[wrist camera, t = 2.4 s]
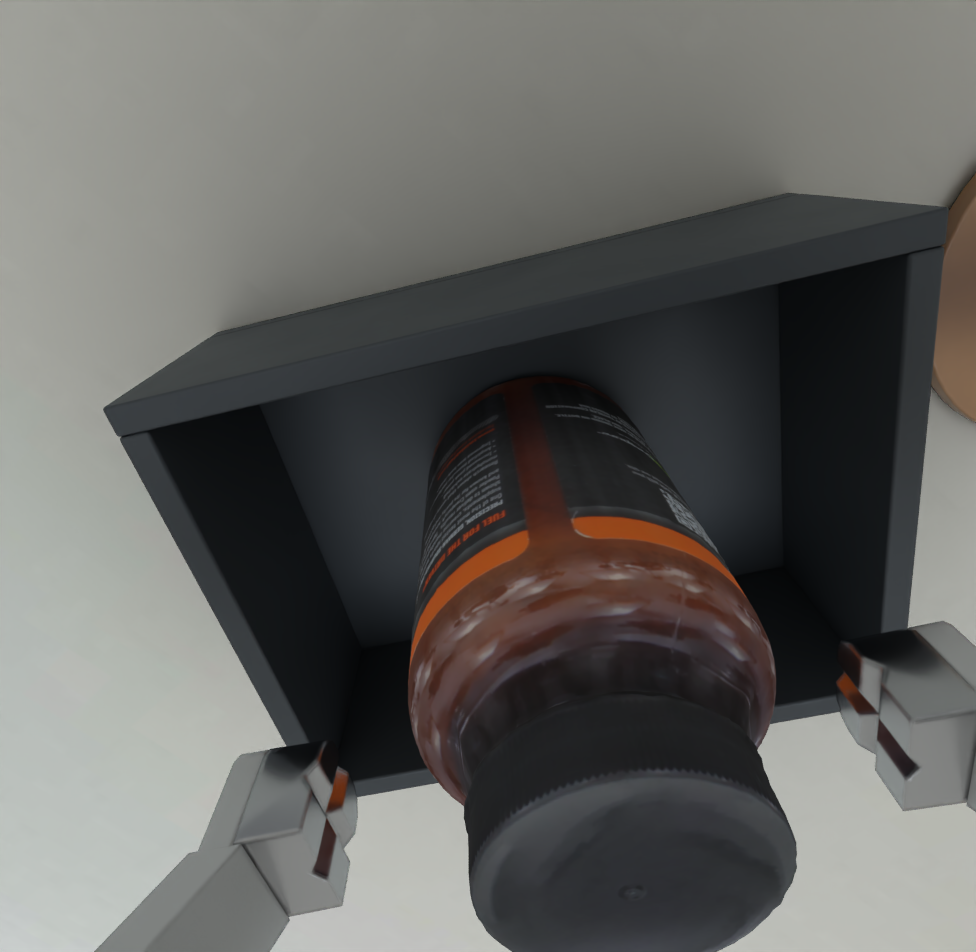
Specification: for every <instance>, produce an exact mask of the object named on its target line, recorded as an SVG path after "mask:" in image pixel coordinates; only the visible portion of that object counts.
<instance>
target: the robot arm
mask: <svg viewBox="0 0 976 952" xmlns="http://www.w3.org/2000/svg"><path fill="white" fill-rule="evenodd" d="M836 661H837V662H838V663H839V665H840V666H841V667H842V669H843V670H844V673H843V674H842V675H841V676H840V678H839V679H838V680H837V681H836V699H837V703H838V706H839V710H840V713H841V716H842V718H843V720H844V722H845V725H846V727H847V729H848V730H849V732H850V734H851V735H852V737H853V738H854V740H855V741H856V743H857V744H858V745H860V746H861V747H863V748H865V749H867V750H868V751H870V752H872V753H874V754H876V765H875V771H876V772H877V774H878V775H879V777H880V778H881V779H882V781H883V782H884V784H885V785H886V787H887V788H888V790H889V791H890V793H891V794H892V795H893V797H894V798H895V800H896V801H897V803H898V804H899V806H900V807H901V809H902V810H903V811H909V810H916V809H923V808H930V807H937V806H945V805H952V804H959V803H966V802H967V806H968V807H969V808H971V809H972V810H974V811H975V812H976V646H974V645H973V644H972V643H971V642H970V641H969V640H968V639H967V638H966V637H965V636H964V635H963V634H961V633H960V632H959V631H958V630H957V629H956V628H955V627H954V626H953V625H951V624H949V623H947V622H944V621H940V622H935V623H930V624H925V625H920V626H915V627H910V628H908V629H899V630H894V631H889V632H884V633H879V634H874V635H869V636H864V637H860V638H855V639H850V640H845V641H841V642H840V643H839V645H838V647H837V659H836ZM339 757H340V753H339V751H338V749H337V747H336V746H335V744H334V742H333V740H323V741H317V742H311V743H305V744H298V745H292V746H286V747H280V748H274V749H270V750H265V751H259V752H253V753H247V754H241V755H240V756H239V757H238V759H237V760H236V761H235V762H234V763H233V765H232V768H231V770H230V773H229V775H228V778H227V780H226V783H225V785H224V788H223V790H222V793H221V795H220V798H219V800H218V803H217V805H216V807H215V810H214V812H213V815H212V817H211V820H210V822H209V825H208V827H207V830H206V832H205V835H204V837H203V840H202V842H201V845H200V847H199V850H198V851H197V852H192V853H189V854H188V855H187V856H186V857H185V858H184V859H183V860H182V861H181V862H180V863H179V864H178V865H177V866H176V867H175V868H174V869H173V870H172V871H171V872H170V873H169V874H168V875H167V876H166V877H165V879H164V880H163V881H162V882H161V883H160V884H159V885H158V886H157V887H156V888H155V889H154V890H153V891H152V892H151V893H150V894H149V895H148V896H147V897H146V898H145V899H144V900H143V901H142V902H141V904H140V905H139V906H138V907H137V908H136V909H135V910H134V911H133V912H132V913H131V914H130V915H129V916H128V917H127V918H126V919H125V920H124V921H123V922H122V923H121V924H120V925H119V926H118V927H117V929H116V930H115V931H114V932H113V933H112V934H111V935H110V936H109V937H108V938H107V939H106V940H105V941H104V942H103V943H102V944H101V945H100V946H99V947H98V948H97V949H96V950H95V951H94V952H270V950H271V949H272V947H273V946H274V944H275V943H276V941H277V939H278V938H279V936H280V935H281V933H282V932H283V930H284V928H285V927H286V925H287V924H288V922H289V921H290V920H289V917H290V916H295V915H300V914H305V913H310V912H315V911H320V910H325V909H330V908H335V907H340V906H342V905H343V899H344V894H345V888H346V883H347V877H348V871H349V866H350V860H349V859H348V857H347V855H346V853H345V851H344V848H345V846H346V845H347V844H348V842H349V841H350V840H351V838H352V837H353V836H354V834H355V831H356V824H357V818H358V808H357V794H356V790H355V785H354V782H353V780H352V778H351V776H350V773H349V772H347V771H346V770H344V769H342V768H340V767H338V762H339Z"/></svg>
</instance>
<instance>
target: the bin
mask: <svg viewBox="0 0 976 952" xmlns="http://www.w3.org/2000/svg"><path fill="white" fill-rule="evenodd" d="M948 213H949V210H948V208H947V207H939V206H928V205H917V204H906V203H895V202H884V201H873V200H862V199H851V198H840V197H830V196H819V195H808V194H794V193H786V194H782V195H778V196H774V197H770V198H766V199H762V200H758V201H754V202H749V203H745V204H741V205H737V206H733V207H729V208H725V209H721V210H717V211H713V212H709V213H704V214H700V215H696V216H692V217H688V218H684V219H680V220H676V221H672V222H668V223H664V224H659V225H655V226H651V227H647V228H643V229H639V230H635V231H631V232H627V233H623V234H619V235H614V236H610V237H606V238H602V239H598V240H594V241H590V242H586V243H582V244H578V245H573V246H569V247H565V248H561V249H557V250H553V251H549V252H545V253H541V254H537V255H533V256H528V257H524V258H520V259H516V260H512V261H508V262H504V263H500V264H496V265H492V266H488V267H483V268H479V269H475V270H471V271H467V272H463V273H459V274H455V275H451V276H447V277H443V278H438V279H434V280H430V281H426V282H422V283H418V284H414V285H410V286H406V287H402V288H398V289H393V290H389V291H385V292H381V293H377V294H373V295H369V296H365V297H361V298H357V299H352V300H348V301H344V302H340V303H336V304H332V305H328V306H324V307H320V308H316V309H312V310H307V311H303V312H299V313H295V314H291V315H287V316H283V317H279V318H275V319H271V320H267V321H262V322H258V323H254V324H250V325H246V326H242V327H238V328H234V329H230V330H226V331H222V332H217V333H216V334H214V335H213V336H211V337H210V338H208V339H207V340H205V341H204V342H202V343H200V344H199V345H197V346H196V347H194V348H193V349H191V350H190V351H188V352H187V353H185V354H184V355H182V356H181V357H179V358H178V359H176V360H175V361H173V362H172V363H170V364H169V365H167V366H166V367H164V368H163V369H161V370H160V371H158V372H157V373H155V374H154V375H152V376H151V377H149V378H148V379H146V380H145V381H143V382H142V383H140V384H139V385H137V386H136V387H134V388H133V389H131V390H130V391H128V392H127V393H125V394H124V395H122V396H121V397H119V398H118V399H116V400H115V401H113V402H112V403H110V404H109V405H107V406H106V407H104V409H103V410H104V413H105V414H106V416H107V418H108V420H109V422H110V424H111V425H112V427H113V429H114V431H115V433H116V435H117V436H118V437H121V438H120V441H121V443H122V445H123V447H124V449H125V450H126V452H127V454H128V456H129V458H130V460H131V461H132V463H133V465H134V467H135V469H136V471H137V472H138V474H139V476H140V478H141V480H142V482H143V483H144V485H145V487H146V489H147V491H148V493H149V494H150V496H151V498H152V500H153V502H154V504H155V505H156V507H157V509H158V511H159V513H160V515H161V516H162V518H163V520H164V522H165V524H166V526H167V528H168V529H169V531H170V533H171V535H172V537H173V539H174V540H175V542H176V544H177V546H178V548H179V550H180V551H181V553H182V555H183V557H184V559H185V561H186V562H187V564H188V566H189V568H190V570H191V572H192V573H193V575H194V577H195V579H196V581H197V583H198V584H199V586H200V588H201V590H202V592H203V594H204V595H205V597H206V599H207V601H208V603H209V605H210V606H211V608H212V610H213V612H214V614H215V616H216V617H217V619H218V621H219V623H220V625H221V627H222V629H223V630H224V632H225V634H226V636H227V638H228V640H229V641H230V643H231V645H232V647H233V649H234V651H235V652H236V654H237V656H238V658H239V660H240V662H241V663H242V665H243V667H244V669H245V671H246V673H247V674H248V676H249V678H250V680H251V682H252V684H253V685H254V687H255V689H256V691H257V693H258V695H259V696H260V698H261V700H262V702H263V704H264V706H265V707H266V709H267V711H268V713H269V715H270V717H271V718H272V720H273V722H274V724H275V726H276V728H277V729H278V731H279V733H280V735H281V737H282V739H283V741H284V742H285V744H286V746H292V745H298V744H305V743H311V742H317V741H323V740H333V742H334V744H335V746H336V747H337V749H338V751H339V753H340V757H339V762H338V767H340V768H342V769H344V770H346V771H347V772H349V773H350V776H351V778H352V780H353V782H354V785H355V790H356V794H357V797H361V796H366V795H372V794H378V793H383V792H389V791H394V790H400V789H406V788H411V787H417V786H423V785H428V784H434V783H439V782H438V781H437V780H436V779H435V778H434V776H433V775H432V773H431V772H430V771H429V769H428V768H427V766H426V765H425V763H424V761H423V759H422V757H421V755H420V751H419V748H418V746H417V744H416V741H415V738H414V735H413V731H412V725H411V720H410V715H409V706H408V681H409V668H410V656H411V642H412V627H413V623H414V613H415V600H416V596H417V588H418V575H419V563H420V557H421V546H422V538H423V528H424V519H425V510H426V498H427V490H428V476H429V471H430V466H431V463H432V459H433V455H434V451H435V447H436V445H437V443H438V441H439V439H440V437H441V435H442V433H443V431H444V430H445V428H446V427H447V425H448V423H449V422H450V421H451V420H452V418H453V417H454V416H455V415H456V414H457V413H458V412H459V411H460V410H461V408H462V407H464V406H465V405H466V404H467V403H468V402H469V401H470V400H472V399H473V398H475V397H476V396H478V395H479V394H481V393H482V392H484V391H485V390H487V389H489V388H491V387H494V386H496V385H499V384H502V383H504V382H507V381H511V380H515V379H520V378H526V377H534V376H555V377H563V378H569V379H572V380H576V381H578V382H581V383H584V384H587V385H589V386H591V387H593V388H594V389H596V390H598V391H600V392H602V393H603V394H605V395H607V396H608V397H609V398H610V399H612V400H613V401H614V402H615V403H616V404H617V405H618V406H619V407H621V408H622V410H623V411H624V412H625V413H626V414H627V416H628V417H629V418H630V419H631V420H632V422H633V423H634V424H635V426H636V427H637V428H638V430H639V431H640V433H641V434H642V436H643V437H644V439H645V441H646V442H647V444H648V445H649V447H650V448H651V450H652V451H653V452H654V454H655V456H656V457H657V459H658V461H659V462H660V463H661V465H662V466H663V467H664V469H665V471H666V472H667V474H668V476H669V477H670V479H671V481H672V482H673V484H674V485H675V487H676V488H677V490H678V491H679V493H680V494H681V496H682V497H683V499H684V500H685V501H686V503H687V505H688V506H689V507H690V509H691V511H692V513H693V514H694V515H695V517H696V518H697V520H698V522H699V524H700V525H701V526H702V528H703V529H704V531H705V533H706V534H707V535H708V537H709V538H710V540H711V541H712V543H713V544H714V545H715V547H716V548H717V551H718V553H719V554H720V556H721V557H722V558H723V560H724V562H725V564H726V566H727V568H728V570H729V571H730V573H731V574H732V575H733V576H734V578H735V580H736V582H737V583H738V585H739V586H740V588H741V589H742V591H743V593H744V594H745V596H746V597H747V599H748V601H749V602H750V604H751V606H752V607H753V609H754V611H755V612H756V614H757V616H758V618H759V620H760V622H761V624H762V626H763V628H764V630H765V633H766V635H767V637H768V639H769V642H770V645H771V649H772V654H773V657H774V662H775V669H776V696H775V704H774V710H773V715H772V717H771V720H770V724H773V723H778V722H784V721H790V720H795V719H801V718H807V717H812V716H818V715H824V714H829V713H835V712H840V710H839V706H838V703H837V699H836V681H837V680H838V679H839V678H840V676H841V675H842V674H843V673H844V670H843V669H842V667H841V666H840V665H839V663H838V662H837V661H836V659H837V647H838V645H839V643H840V642H841V641H845V640H850V639H855V638H860V637H864V636H869V635H874V634H879V633H884V632H889V631H894V630H899V629H907V627H908V617H909V606H910V596H911V586H912V576H913V566H914V555H915V545H916V535H917V525H918V515H919V504H920V494H921V484H922V474H923V463H924V453H925V443H926V433H927V423H928V412H929V402H930V392H931V382H932V372H933V361H934V351H935V341H936V331H937V320H938V310H939V300H940V290H941V280H942V269H943V259H944V247H943V246H941V245H943V244H945V242H946V233H947V223H948Z"/></svg>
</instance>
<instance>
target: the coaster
mask: <svg viewBox="0 0 976 952" xmlns="http://www.w3.org/2000/svg"><path fill="white" fill-rule="evenodd" d="M941 246H943V247H944V259H943V269H942V280H941V290H940V300H939V310H938V320H937V331H936V341H935V351H934V361H933V372H932V382H931V386H932V387H933V388H934V390H935V391H936V392H937V394H938V395H939V396H940V398H941V399H942V400H943V401H944V402H945V403H947V404H948V405H949V406H950V407H951V408H952V409H953V410H954V411H956V412H957V413H959V414H961V415H962V416H964V417H966V418H967V419H969V420H971V421H973V422H975V423H976V174H975V175H974V176H973V177H972V179H971V180H970V181H969V182H968V184H967V185H966V186H965V187H964V189H963V190H962V192H961V193H960V195H959V196H958V198H957V199H956V201H955V202H954V204H953V206H952V207H951V209H950V210H949V213H948V223H947V233H946V242H945V244H943V245H941Z"/></svg>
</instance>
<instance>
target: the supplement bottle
mask: <svg viewBox="0 0 976 952" xmlns="http://www.w3.org/2000/svg"><path fill="white" fill-rule="evenodd" d="M775 696H776V669H775V662H774V657H773V654H772V649H771V645H770V642H769V639H768V637H767V635H766V633H765V630H764V628H763V626H762V624H761V622H760V620H759V618H758V616H757V614H756V612H755V611H754V609H753V607H752V606H751V604H750V602H749V601H748V599H747V597H746V596H745V594H744V593H743V591H742V589H741V588H740V586H739V585H738V583H737V582H736V580H735V578H734V576H733V575H732V574H731V573H730V571H729V570H728V568H727V566H726V564H725V562H724V560H723V558H722V557H721V556H720V554H719V553H718V551H717V548H716V547H715V545H714V544H713V543H712V541H711V540H710V538H709V537H708V535H707V534H706V533H705V531H704V529H703V528H702V526H701V525H700V524H699V522H698V520H697V518H696V517H695V515H694V514H693V513H692V511H691V509H690V507H689V506H688V505H687V503H686V501H685V500H684V499H683V497H682V496H681V494H680V493H679V491H678V490H677V488H676V487H675V485H674V484H673V482H672V481H671V479H670V477H669V476H668V474H667V472H666V471H665V469H664V467H663V466H662V465H661V463H660V462H659V461H658V459H657V457H656V456H655V454H654V452H653V451H652V450H651V448H650V447H649V445H648V444H647V442H646V441H645V439H644V437H643V436H642V434H641V433H640V431H639V430H638V428H637V427H636V426H635V424H634V423H633V422H632V420H631V419H630V418H629V417H628V416H627V414H626V413H625V412H624V411H623V410H622V408H621V407H619V406H618V405H617V404H616V403H615V402H614V401H613V400H612V399H610V398H609V397H608V396H607V395H605V394H603V393H602V392H600V391H598V390H596V389H594V388H593V387H591V386H589V385H587V384H584V383H581V382H578V381H576V380H572V379H569V378H563V377H555V376H534V377H526V378H520V379H515V380H511V381H507V382H504V383H502V384H499V385H496V386H494V387H491V388H489V389H487V390H485V391H484V392H482V393H481V394H479V395H478V396H476V397H475V398H473V399H472V400H470V401H469V402H468V403H467V404H466V405H465V406H464V407H462V408H461V410H460V411H459V412H458V413H457V414H456V415H455V416H454V417H453V418H452V420H451V421H450V422H449V423H448V425H447V427H446V428H445V430H444V431H443V433H442V435H441V437H440V439H439V441H438V443H437V445H436V447H435V451H434V455H433V459H432V463H431V466H430V471H429V476H428V490H427V498H426V510H425V519H424V528H423V538H422V546H421V557H420V563H419V575H418V588H417V596H416V600H415V613H414V623H413V627H412V642H411V656H410V668H409V681H408V706H409V715H410V720H411V725H412V731H413V735H414V738H415V741H416V744H417V746H418V748H419V751H420V755H421V757H422V759H423V761H424V763H425V765H426V766H427V768H428V769H429V771H430V772H431V773H432V775H433V776H434V778H435V779H436V780H437V781H438V782H439V784H440V785H441V786H442V787H443V789H444V790H445V791H447V792H448V793H449V794H450V795H451V796H452V797H453V798H454V799H455V800H457V801H458V802H459V803H461V804H462V805H463V806H464V820H465V825H466V831H467V833H468V844H469V883H470V894H471V899H472V903H473V906H474V909H475V911H476V915H477V917H478V919H479V920H480V921H481V922H482V924H483V926H484V927H485V929H486V931H487V932H488V933H489V934H490V935H491V936H492V937H493V938H494V939H495V940H497V941H498V942H499V943H501V944H502V945H503V946H505V947H506V948H507V949H509V950H510V951H512V952H717V951H719V950H721V949H723V948H725V947H727V946H729V945H731V944H733V943H735V942H737V941H738V940H739V939H741V938H742V937H744V936H746V935H747V934H749V933H750V932H751V931H752V930H754V929H755V928H756V927H757V926H758V925H759V924H760V923H761V922H762V921H763V920H765V919H766V918H767V917H768V916H769V915H770V913H771V912H772V911H773V910H774V909H775V908H776V907H777V906H779V905H780V904H781V902H782V900H783V898H784V895H785V893H786V892H787V890H788V888H789V887H790V885H791V884H792V881H793V878H794V874H795V872H796V868H797V865H796V855H797V851H796V841H795V838H794V835H793V832H792V830H791V827H790V825H789V823H788V820H787V818H786V815H785V813H784V811H783V809H782V808H781V805H780V803H779V801H778V799H777V797H776V795H775V793H774V791H773V790H772V788H771V786H770V783H769V780H768V777H767V775H766V773H765V771H764V768H763V763H762V758H761V757H760V755H759V754H758V751H757V750H758V747H759V746H760V744H761V743H762V740H763V739H764V737H765V735H766V733H767V730H768V728H769V725H770V720H771V717H772V715H773V710H774V704H775Z"/></svg>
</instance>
